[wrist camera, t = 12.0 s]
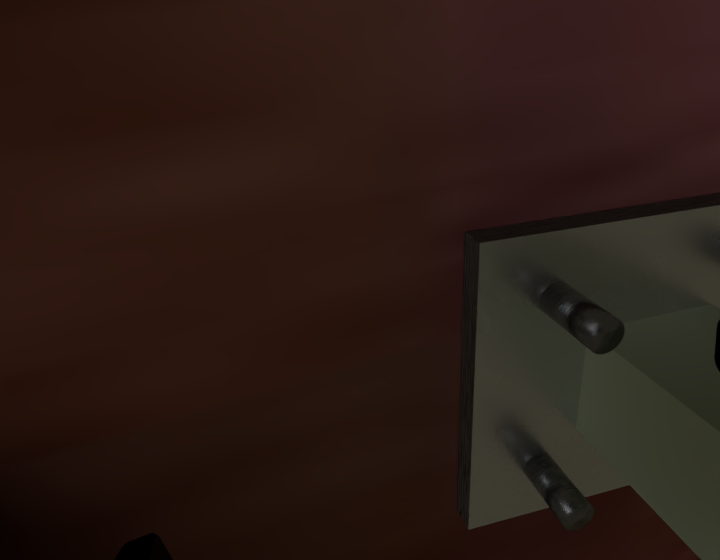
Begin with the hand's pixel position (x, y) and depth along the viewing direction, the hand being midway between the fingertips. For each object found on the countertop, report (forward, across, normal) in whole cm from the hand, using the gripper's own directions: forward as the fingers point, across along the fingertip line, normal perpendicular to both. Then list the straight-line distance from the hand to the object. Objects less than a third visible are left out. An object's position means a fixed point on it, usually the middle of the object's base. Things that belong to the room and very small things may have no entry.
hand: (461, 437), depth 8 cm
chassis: (+12, -12, +11) cm, 20 cm away
